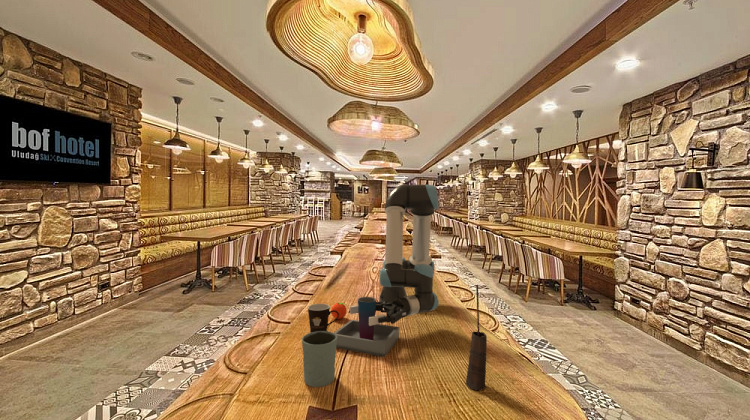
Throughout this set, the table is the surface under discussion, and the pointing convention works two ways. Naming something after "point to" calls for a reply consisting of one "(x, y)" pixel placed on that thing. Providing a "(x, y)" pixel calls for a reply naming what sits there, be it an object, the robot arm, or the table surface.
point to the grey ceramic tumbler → (319, 358)
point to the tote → (378, 346)
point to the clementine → (339, 310)
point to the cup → (366, 316)
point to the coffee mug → (319, 317)
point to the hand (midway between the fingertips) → (359, 315)
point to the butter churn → (477, 357)
